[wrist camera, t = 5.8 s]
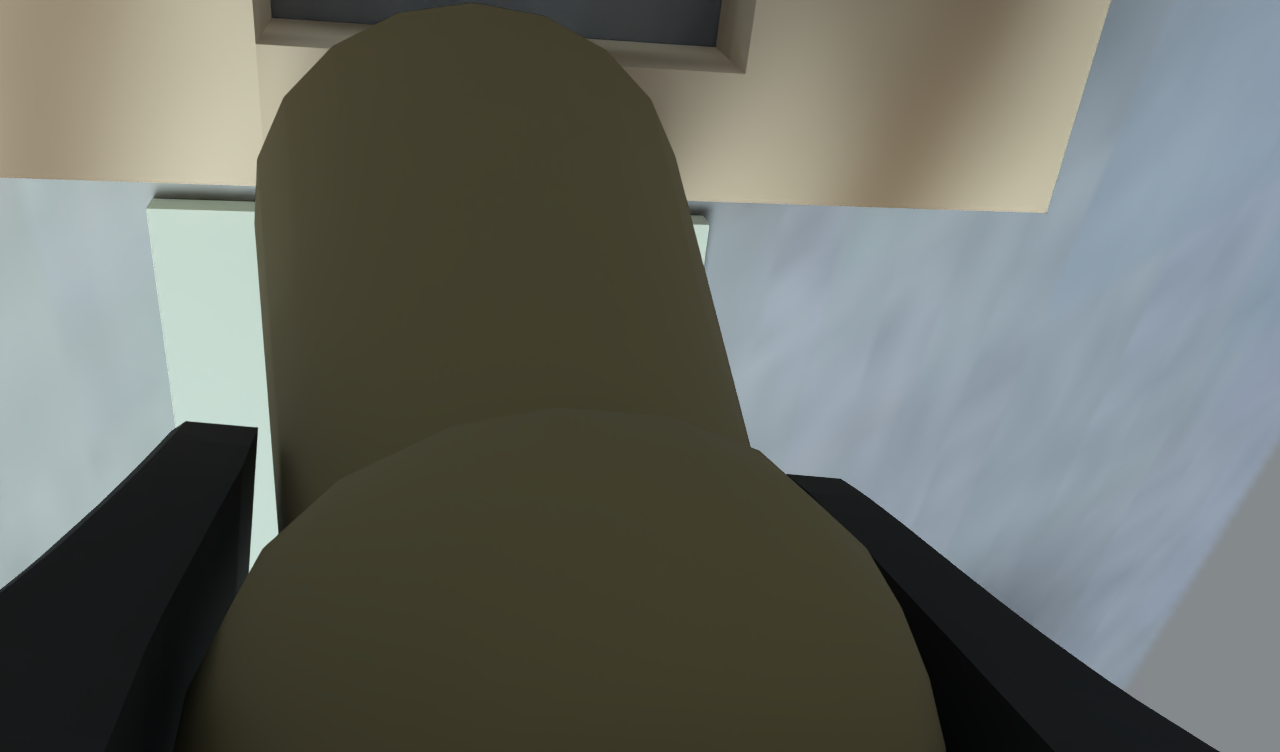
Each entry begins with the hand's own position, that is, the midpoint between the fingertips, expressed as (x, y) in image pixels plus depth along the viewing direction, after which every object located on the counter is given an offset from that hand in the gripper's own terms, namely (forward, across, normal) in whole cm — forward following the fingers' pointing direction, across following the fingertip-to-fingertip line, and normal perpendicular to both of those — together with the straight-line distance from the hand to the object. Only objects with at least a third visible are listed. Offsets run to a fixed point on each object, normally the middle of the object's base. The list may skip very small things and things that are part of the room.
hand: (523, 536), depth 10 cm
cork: (+6, 0, -1) cm, 6 cm away
